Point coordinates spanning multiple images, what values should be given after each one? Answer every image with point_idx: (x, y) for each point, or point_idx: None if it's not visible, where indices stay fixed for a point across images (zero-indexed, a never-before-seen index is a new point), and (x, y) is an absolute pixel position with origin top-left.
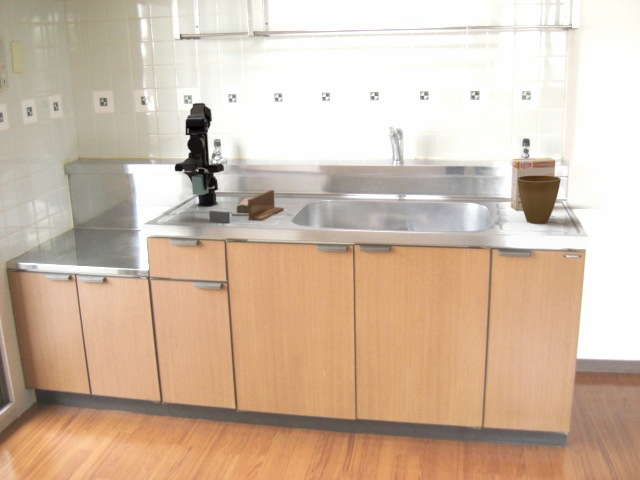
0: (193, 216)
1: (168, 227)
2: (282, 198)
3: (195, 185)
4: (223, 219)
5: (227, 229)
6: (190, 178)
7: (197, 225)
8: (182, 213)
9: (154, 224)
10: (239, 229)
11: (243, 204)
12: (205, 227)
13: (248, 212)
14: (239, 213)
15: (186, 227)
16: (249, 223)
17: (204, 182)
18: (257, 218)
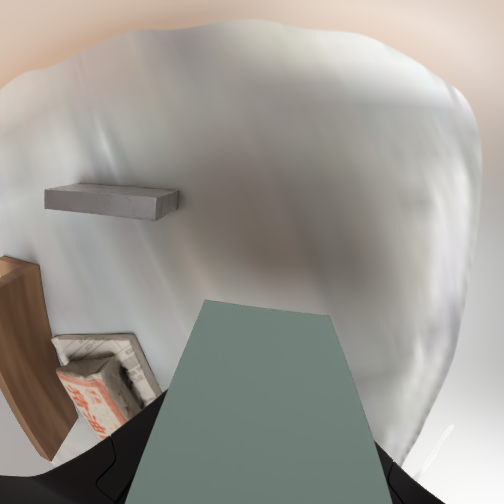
0: (332, 311)
1: (361, 41)
2: None
3: (296, 389)
4: (90, 186)
5: (52, 74)
6: (412, 493)
7: (215, 95)
8: (400, 356)
9: (456, 111)
10: (18, 95)
11: (79, 382)
12: (152, 66)
13: (18, 277)
14: (102, 344)
15: (260, 44)
16: (15, 202)
17: (140, 439)
18: (9, 261)
